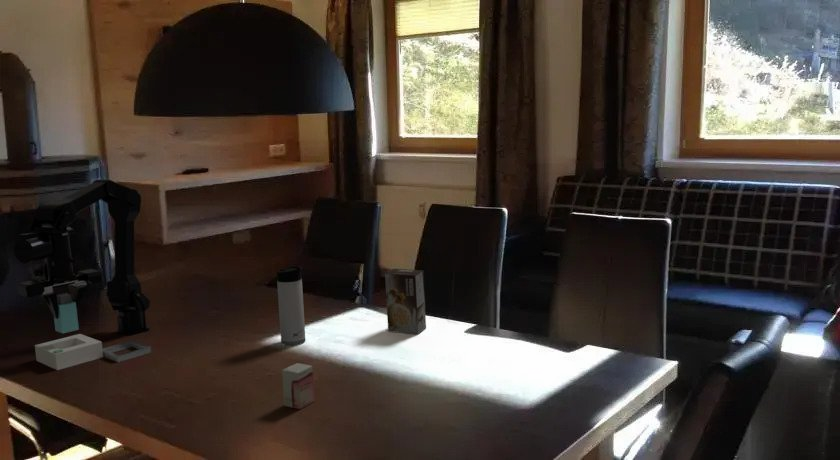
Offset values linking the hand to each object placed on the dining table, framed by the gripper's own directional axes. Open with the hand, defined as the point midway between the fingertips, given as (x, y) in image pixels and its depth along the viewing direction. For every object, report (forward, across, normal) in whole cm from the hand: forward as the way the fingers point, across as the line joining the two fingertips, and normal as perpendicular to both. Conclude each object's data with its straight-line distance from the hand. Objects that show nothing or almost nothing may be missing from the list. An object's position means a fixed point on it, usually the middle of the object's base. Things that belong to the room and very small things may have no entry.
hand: (65, 316), depth 192 cm
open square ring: (+11, -10, +8) cm, 17 cm away
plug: (+4, 0, 0) cm, 4 cm away
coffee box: (+11, -67, +53) cm, 86 cm away
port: (+11, 0, 0) cm, 11 cm away
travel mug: (+11, -42, +36) cm, 56 cm away
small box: (+11, -16, +69) cm, 72 cm away
